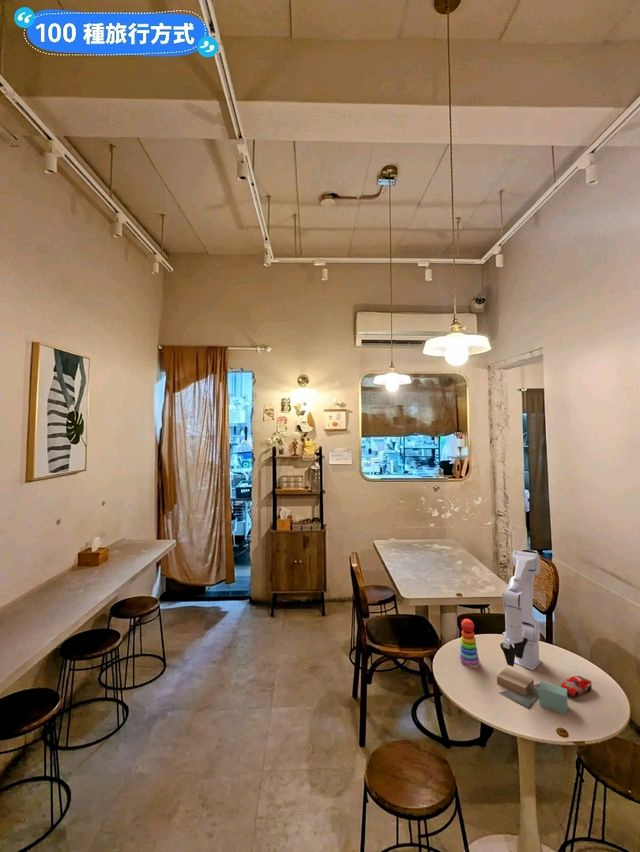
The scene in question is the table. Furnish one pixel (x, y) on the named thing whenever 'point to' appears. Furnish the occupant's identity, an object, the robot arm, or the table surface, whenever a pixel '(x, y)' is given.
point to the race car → (577, 685)
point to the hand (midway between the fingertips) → (514, 661)
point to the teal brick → (553, 697)
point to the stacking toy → (468, 644)
